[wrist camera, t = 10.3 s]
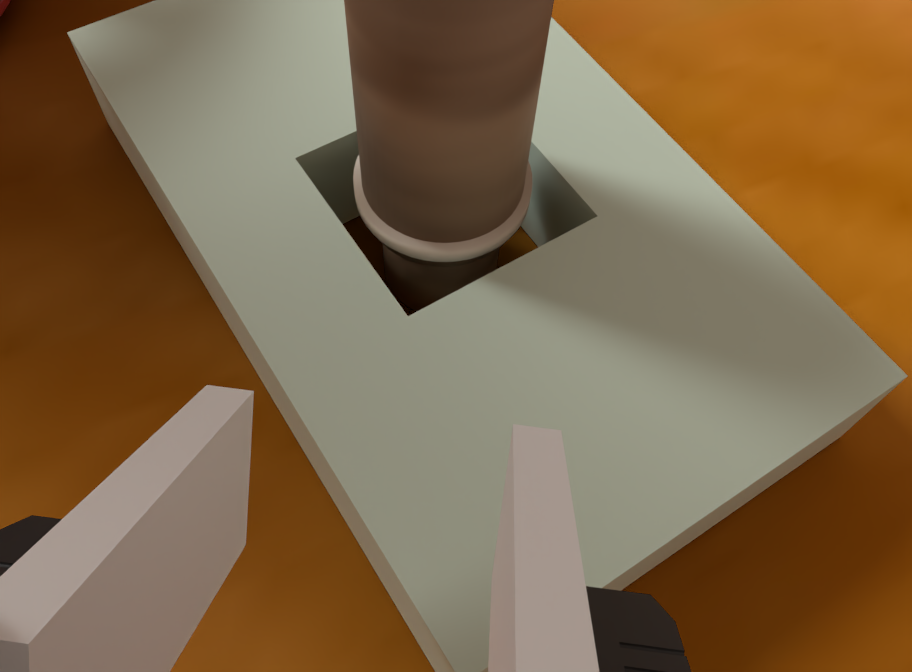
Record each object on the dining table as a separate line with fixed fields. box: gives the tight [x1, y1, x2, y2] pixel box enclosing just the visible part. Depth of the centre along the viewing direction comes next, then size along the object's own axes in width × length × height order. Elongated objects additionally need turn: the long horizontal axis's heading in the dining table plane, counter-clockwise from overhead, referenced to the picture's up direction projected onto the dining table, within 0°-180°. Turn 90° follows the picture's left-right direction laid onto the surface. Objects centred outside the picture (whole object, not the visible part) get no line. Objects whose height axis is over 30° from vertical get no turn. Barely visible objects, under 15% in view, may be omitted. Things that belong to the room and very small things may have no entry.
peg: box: [344, 0, 554, 311], centre depth 19 cm, size 4×4×13 cm
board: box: [67, 0, 907, 672], centre depth 23 cm, size 20×12×4 cm, turn 33°
